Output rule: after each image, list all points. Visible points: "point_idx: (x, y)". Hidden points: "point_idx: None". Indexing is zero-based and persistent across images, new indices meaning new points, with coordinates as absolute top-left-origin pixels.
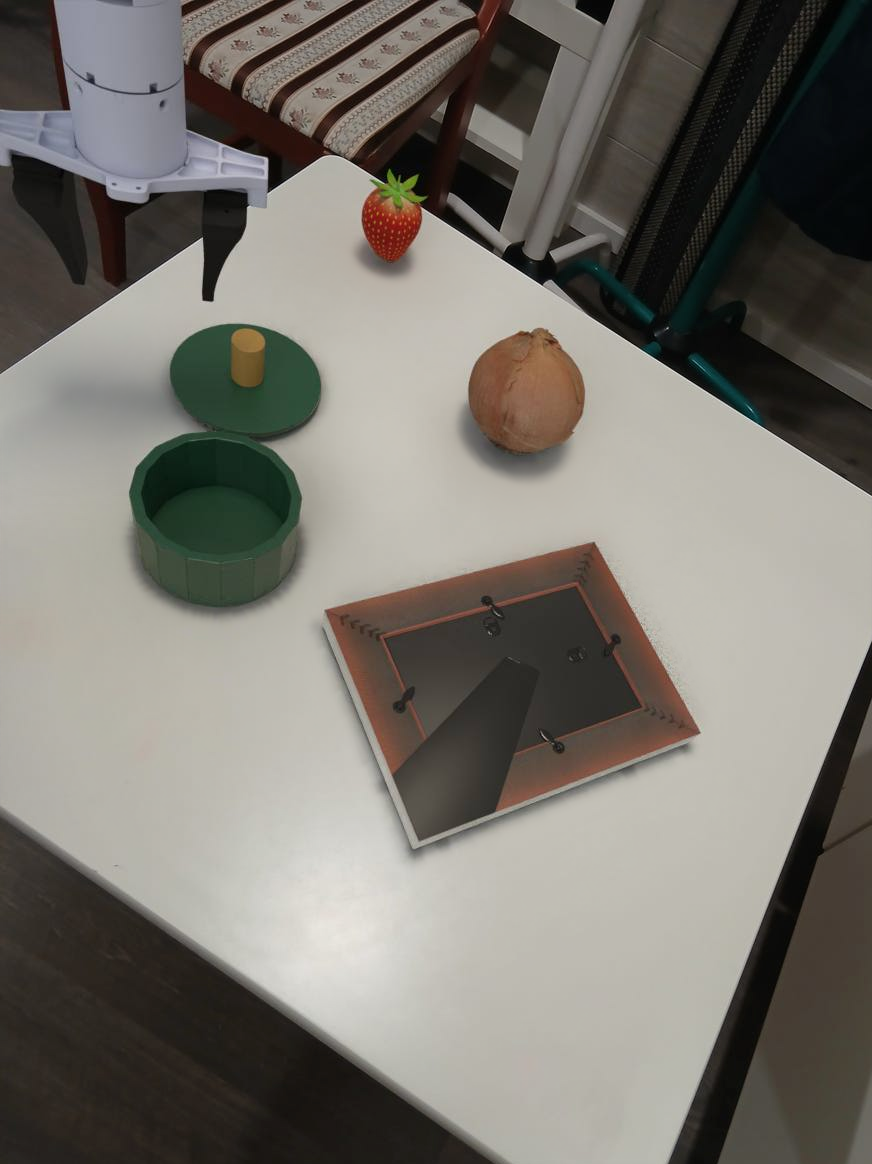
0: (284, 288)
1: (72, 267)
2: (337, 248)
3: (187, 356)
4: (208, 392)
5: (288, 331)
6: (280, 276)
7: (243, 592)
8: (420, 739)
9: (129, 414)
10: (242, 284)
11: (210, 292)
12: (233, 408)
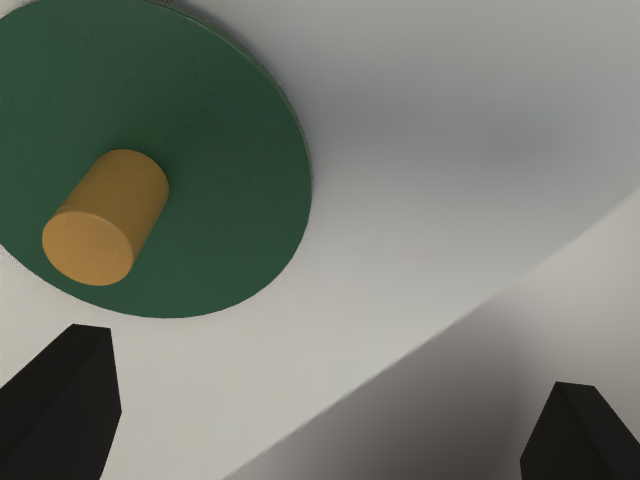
0: None
1: (625, 454)
2: None
3: (270, 235)
4: (220, 132)
5: (73, 306)
6: None
7: None
8: None
9: (416, 79)
10: (174, 401)
11: (47, 357)
12: (154, 81)
